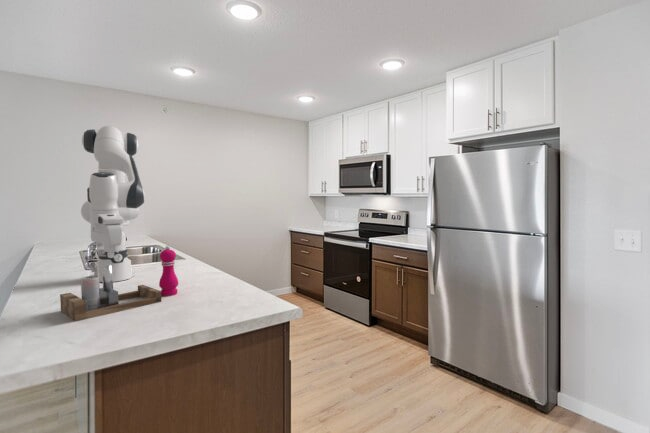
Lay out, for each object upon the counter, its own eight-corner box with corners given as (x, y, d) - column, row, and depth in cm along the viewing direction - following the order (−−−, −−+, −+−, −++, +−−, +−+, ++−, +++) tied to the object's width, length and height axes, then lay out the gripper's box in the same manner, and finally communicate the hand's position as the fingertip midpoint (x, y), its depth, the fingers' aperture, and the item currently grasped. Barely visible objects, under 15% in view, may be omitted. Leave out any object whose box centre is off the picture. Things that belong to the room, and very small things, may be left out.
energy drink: (98, 307, 130) (96, 274, 129) (102, 310, 126) (100, 277, 126) (80, 311, 126) (79, 277, 126) (84, 314, 123) (82, 279, 122)
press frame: (60, 311, 126) (60, 294, 126) (143, 294, 147) (142, 279, 147) (75, 321, 116) (74, 303, 115) (161, 301, 137) (160, 286, 137)
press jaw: (98, 304, 132) (97, 264, 132) (108, 302, 135) (106, 263, 134) (109, 310, 126) (107, 267, 125) (119, 307, 128) (117, 266, 128)
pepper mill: (171, 296, 143) (170, 247, 142) (155, 296, 145) (153, 246, 144) (182, 292, 150) (180, 244, 149) (166, 291, 152) (165, 244, 151)
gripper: (85, 216, 133) (86, 253, 134) (105, 219, 120) (106, 260, 121) (104, 215, 138) (105, 251, 139) (125, 218, 124) (126, 258, 125)
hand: (105, 256), depth 129 cm, fingers open, 8 cm apart
